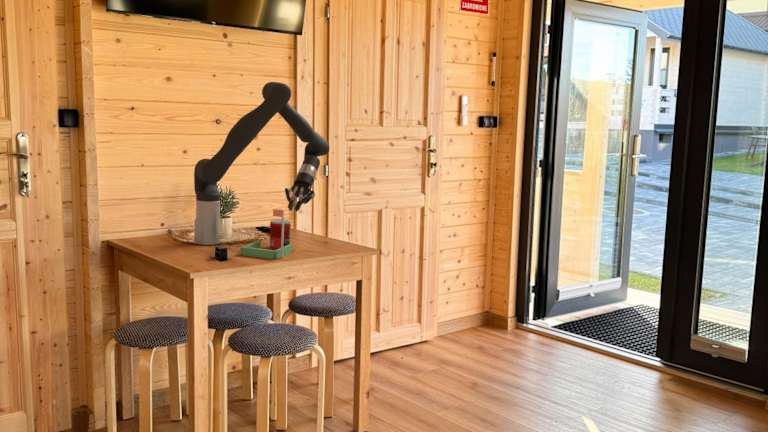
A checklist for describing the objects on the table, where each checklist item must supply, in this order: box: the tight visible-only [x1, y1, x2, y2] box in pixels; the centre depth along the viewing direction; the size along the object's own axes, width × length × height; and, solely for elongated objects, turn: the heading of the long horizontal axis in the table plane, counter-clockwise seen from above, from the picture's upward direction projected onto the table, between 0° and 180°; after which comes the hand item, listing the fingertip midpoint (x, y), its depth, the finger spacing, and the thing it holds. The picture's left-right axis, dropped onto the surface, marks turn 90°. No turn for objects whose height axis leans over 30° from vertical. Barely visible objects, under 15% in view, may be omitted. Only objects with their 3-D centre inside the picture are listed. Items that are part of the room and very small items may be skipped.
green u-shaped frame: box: [240, 208, 293, 260], centre depth 268 cm, size 16×14×18 cm
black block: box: [208, 245, 233, 263], centre depth 257 cm, size 12×7×5 cm, turn 40°
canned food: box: [269, 218, 291, 250], centre depth 279 cm, size 8×8×11 cm
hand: (293, 209), depth 289 cm, fingers closed
